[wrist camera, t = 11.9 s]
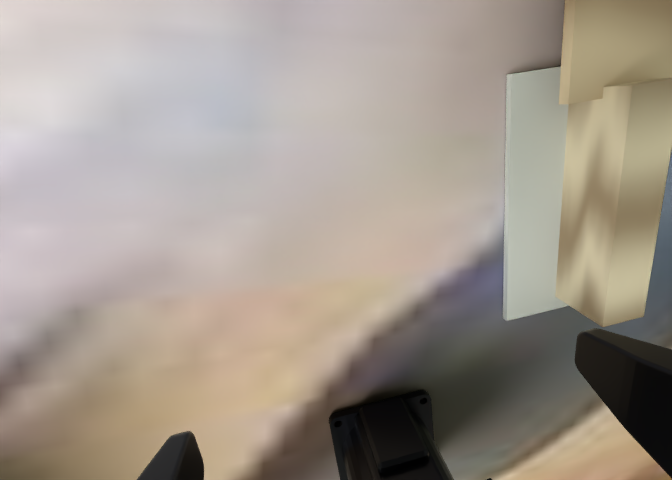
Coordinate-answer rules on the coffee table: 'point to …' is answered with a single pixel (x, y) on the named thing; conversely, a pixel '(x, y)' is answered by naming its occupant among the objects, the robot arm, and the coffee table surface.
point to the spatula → (613, 152)
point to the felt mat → (533, 191)
